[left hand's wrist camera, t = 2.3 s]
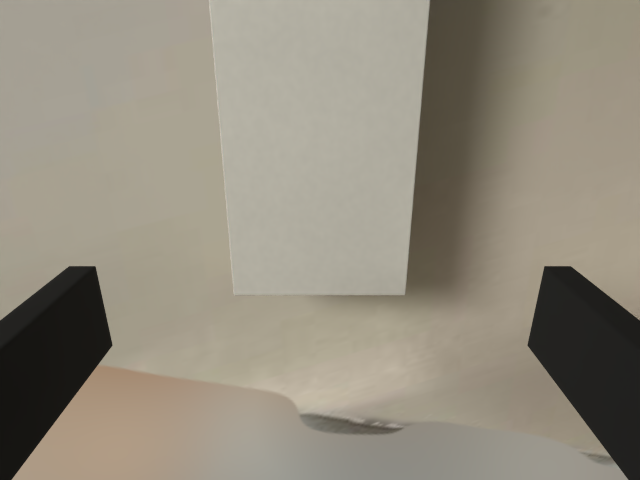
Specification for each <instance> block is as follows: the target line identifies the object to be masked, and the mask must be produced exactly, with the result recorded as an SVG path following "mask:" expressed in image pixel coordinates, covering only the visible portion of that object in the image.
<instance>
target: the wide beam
mask: <svg viewBox="0 0 640 480" xmlns="http://www.w3.org/2000/svg"><path fill="white" fill-rule="evenodd" d="M209 8H210V19H211V31H212V43H213V55H214V67H215V78H216V90H217V102H218V114H219V125H220V137H221V149H222V161H223V173H224V184H225V196H226V208H227V220H228V231H229V243H230V255H231V267H232V279H233V290H234V295H405V294H406V282H407V270H408V258H409V247H410V235H411V223H412V211H413V199H414V187H415V175H416V163H417V152H418V140H419V128H420V116H421V104H422V92H423V80H424V68H425V57H426V45H427V33H428V21H429V9H430V0H209Z"/></svg>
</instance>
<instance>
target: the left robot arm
mask: <svg viewBox="0 0 640 480" xmlns="http://www.w3.org/2000/svg"><path fill="white" fill-rule="evenodd" d="M111 347H112V341H111V336H110V332H109V327H108V322H107V318H106V313H105V309H104V304H103V299H102V295H101V290H100V285H99V281H98V276H97V271H96V267H95V266H69V267H68V268H67V269H65V270H64V271H63V272H61V273H60V274H59V275H58V276H56V277H55V278H54V279H53V280H51V281H50V282H49V283H47V284H46V285H45V286H44V287H42V288H41V289H40V290H39V291H37V292H36V293H35V294H33V295H32V296H31V297H30V298H28V299H27V300H26V301H25V302H23V303H22V304H21V305H19V306H18V307H17V308H16V309H14V310H13V311H12V312H11V313H9V314H8V315H7V316H5V317H4V318H3V319H2V320H0V480H12V478H13V477H14V476H15V474H16V473H17V472H18V470H19V469H20V468H21V466H22V465H23V464H24V462H25V461H26V460H27V458H28V457H29V456H30V454H31V453H32V452H33V450H34V449H35V448H36V446H37V445H38V444H39V442H40V441H41V440H42V438H43V437H44V436H45V434H46V433H47V432H48V430H49V429H50V428H51V426H52V425H53V424H54V422H55V421H56V420H57V418H58V417H59V416H60V414H61V413H62V412H63V410H64V409H65V408H66V406H67V405H68V404H69V402H70V401H71V400H72V398H73V397H74V396H75V395H76V393H77V392H78V391H79V389H80V388H81V387H82V385H83V384H84V383H85V381H86V380H87V379H88V377H89V376H90V375H91V373H92V372H93V371H94V369H95V368H96V367H97V365H98V364H99V363H100V361H101V360H102V359H103V357H104V356H105V355H106V353H107V352H108V351H109V349H110V348H111ZM528 347H529V348H530V349H531V351H532V352H533V353H534V355H535V356H536V357H537V359H538V360H539V361H540V363H541V364H542V365H543V367H544V368H545V369H546V371H547V372H548V373H549V375H550V376H551V377H552V379H553V380H554V381H555V383H556V384H557V385H558V387H559V388H560V389H561V391H562V392H563V393H564V395H565V396H566V397H567V399H568V400H569V401H570V402H571V404H572V405H573V406H574V408H575V409H576V410H577V412H578V413H579V414H580V416H581V417H582V418H583V420H584V421H585V422H586V424H587V425H588V426H589V428H590V429H591V430H592V432H593V433H594V434H595V436H596V437H597V438H598V440H599V441H600V442H601V444H602V445H603V446H604V448H605V449H606V450H607V452H608V453H609V454H610V456H611V457H612V458H613V460H614V461H615V462H616V464H617V465H618V466H619V468H620V469H621V470H622V472H623V473H624V474H625V476H626V477H627V478H628V480H640V320H638V319H637V318H636V317H635V316H633V315H632V314H631V313H629V312H628V311H627V310H626V309H624V308H623V307H622V306H621V305H619V304H618V303H617V302H615V301H614V300H613V299H612V298H610V297H609V296H608V295H607V294H605V293H604V292H603V291H601V290H600V289H599V288H598V287H596V286H595V285H594V284H593V283H591V282H590V281H589V280H587V279H586V278H585V277H584V276H582V275H581V274H580V273H579V272H577V271H576V270H575V269H573V268H572V267H571V266H545V267H544V271H543V276H542V281H541V285H540V290H539V295H538V299H537V304H536V309H535V313H534V318H533V322H532V327H531V332H530V336H529V341H528Z"/></svg>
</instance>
